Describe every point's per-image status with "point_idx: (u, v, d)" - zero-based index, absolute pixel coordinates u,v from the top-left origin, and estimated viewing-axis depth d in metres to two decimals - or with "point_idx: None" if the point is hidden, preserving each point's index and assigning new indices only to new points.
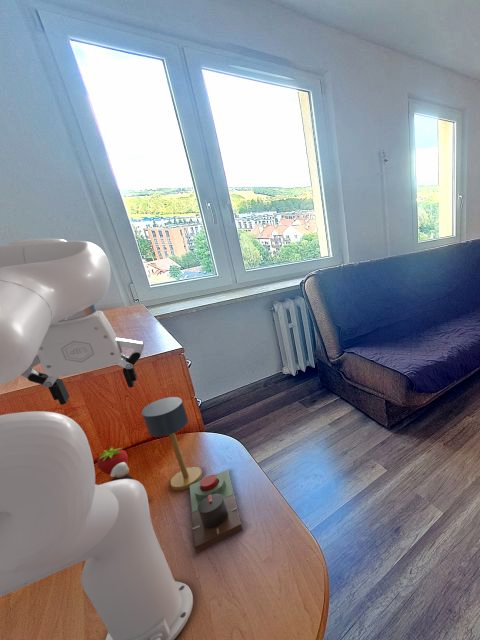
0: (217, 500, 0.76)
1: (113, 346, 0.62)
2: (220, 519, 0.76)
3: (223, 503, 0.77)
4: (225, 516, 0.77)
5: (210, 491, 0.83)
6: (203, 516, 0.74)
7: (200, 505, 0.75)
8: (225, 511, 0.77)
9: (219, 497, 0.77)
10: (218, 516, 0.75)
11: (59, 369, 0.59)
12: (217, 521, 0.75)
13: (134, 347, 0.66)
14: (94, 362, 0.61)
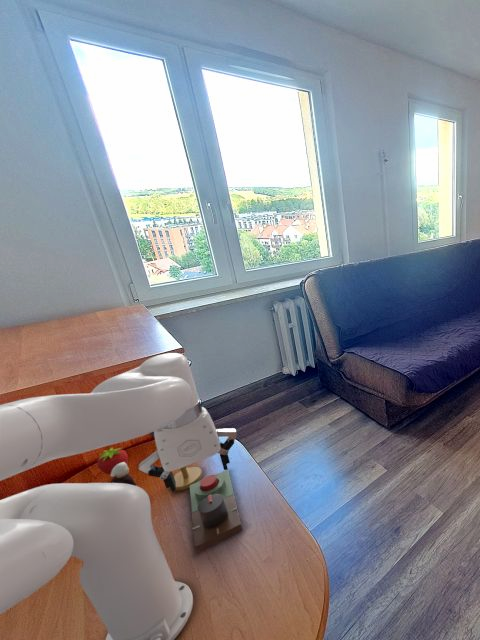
0: (217, 500, 0.76)
1: (216, 439, 0.70)
2: (220, 519, 0.76)
3: (223, 503, 0.77)
4: (225, 516, 0.77)
5: (210, 491, 0.83)
6: (203, 516, 0.74)
7: (200, 505, 0.75)
8: (225, 511, 0.77)
9: (219, 497, 0.77)
10: (218, 516, 0.75)
11: (174, 465, 0.67)
12: (217, 521, 0.75)
13: (230, 435, 0.74)
14: (201, 455, 0.69)
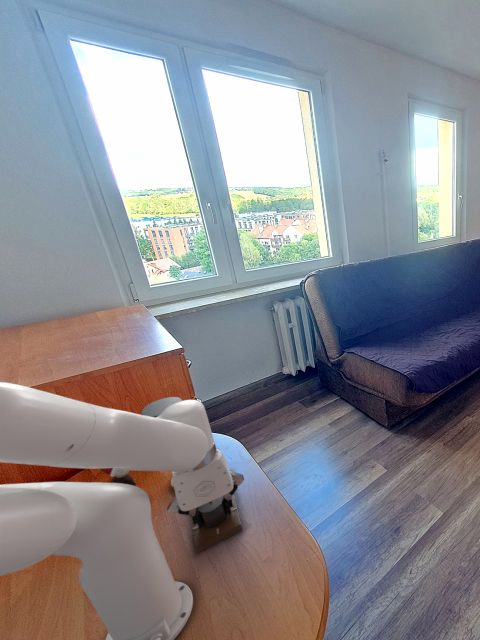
0: (217, 500, 0.76)
1: (229, 479, 0.74)
2: (220, 519, 0.76)
3: (223, 503, 0.77)
4: (225, 516, 0.77)
5: None
6: (203, 516, 0.74)
7: None
8: (225, 511, 0.77)
9: (219, 497, 0.77)
10: (218, 516, 0.75)
11: (190, 505, 0.70)
12: (217, 521, 0.75)
13: (237, 480, 0.77)
14: (215, 494, 0.73)
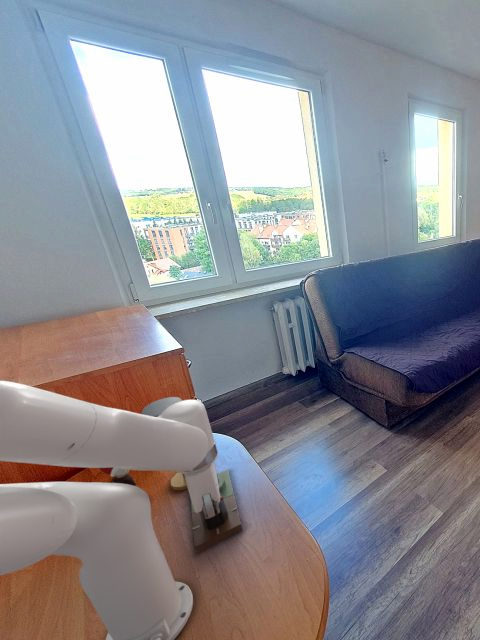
0: None
1: (192, 502, 0.69)
2: (203, 522, 0.75)
3: None
4: None
5: None
6: None
7: None
8: None
9: (213, 507, 0.75)
10: (201, 518, 0.75)
11: None
12: (202, 521, 0.76)
13: (207, 512, 0.70)
14: None
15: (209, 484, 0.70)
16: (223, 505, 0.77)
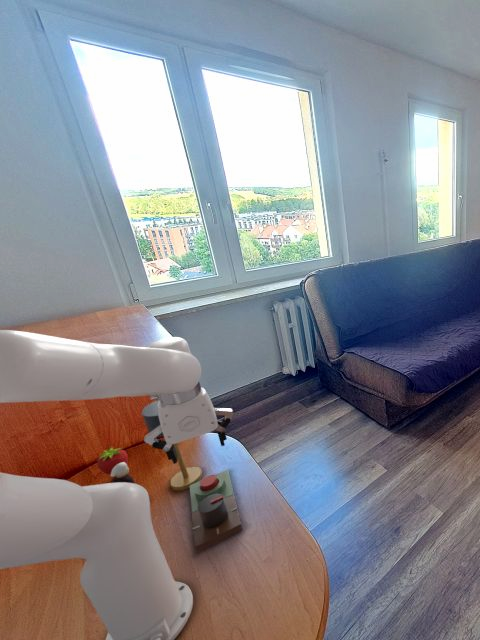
0: (211, 506, 0.75)
1: (213, 417, 0.77)
2: (203, 522, 0.75)
3: (207, 515, 0.74)
4: (208, 526, 0.75)
5: (210, 491, 0.83)
6: None
7: (213, 495, 0.78)
8: (209, 522, 0.75)
9: (213, 507, 0.75)
10: (201, 518, 0.75)
11: (176, 438, 0.74)
12: (202, 521, 0.76)
13: (226, 414, 0.81)
14: (199, 431, 0.76)
15: (210, 399, 0.79)
16: (223, 505, 0.77)
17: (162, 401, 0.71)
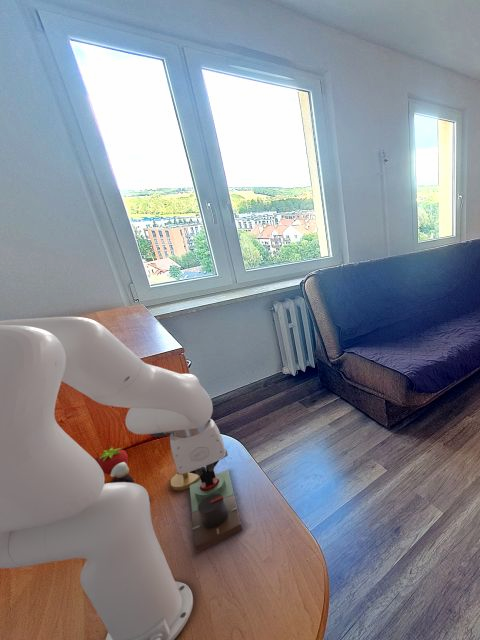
0: (211, 506, 0.75)
1: (222, 446, 0.82)
2: (203, 522, 0.75)
3: (207, 515, 0.74)
4: (208, 526, 0.75)
5: (210, 491, 0.83)
6: None
7: (213, 495, 0.78)
8: (209, 522, 0.75)
9: (213, 507, 0.75)
10: (201, 518, 0.75)
11: (187, 468, 0.79)
12: (202, 521, 0.76)
13: None
14: (209, 460, 0.81)
15: (218, 429, 0.84)
16: (223, 505, 0.77)
17: (174, 434, 0.76)
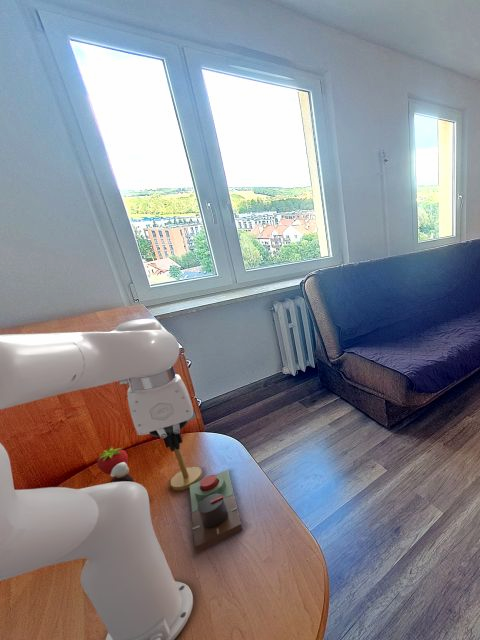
0: (211, 506, 0.75)
1: (188, 405, 0.73)
2: (203, 522, 0.75)
3: (207, 515, 0.74)
4: (208, 526, 0.75)
5: (210, 491, 0.83)
6: None
7: (213, 495, 0.78)
8: (209, 522, 0.75)
9: (213, 507, 0.75)
10: (201, 518, 0.75)
11: (147, 427, 0.70)
12: (202, 521, 0.76)
13: None
14: (173, 419, 0.72)
15: (185, 387, 0.75)
16: (223, 505, 0.77)
17: (132, 386, 0.67)
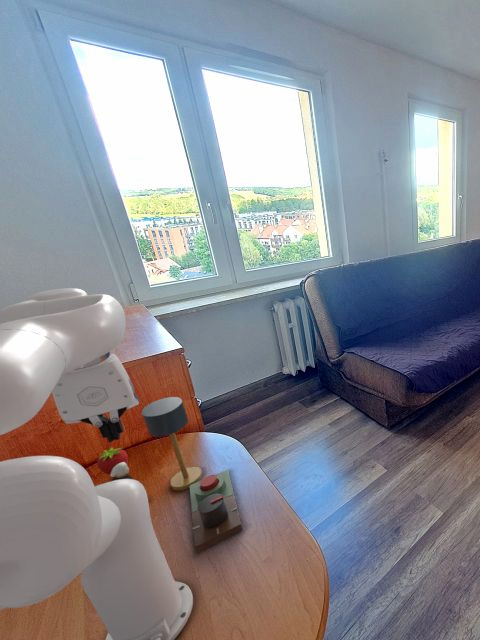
0: (211, 506, 0.75)
1: (126, 389, 0.64)
2: (203, 522, 0.75)
3: (207, 515, 0.74)
4: (208, 526, 0.75)
5: (210, 491, 0.83)
6: None
7: (213, 495, 0.78)
8: (209, 522, 0.75)
9: (213, 507, 0.75)
10: (201, 518, 0.75)
11: (75, 414, 0.60)
12: (202, 521, 0.76)
13: None
14: (108, 405, 0.63)
15: (124, 369, 0.66)
16: (223, 505, 0.77)
17: None
